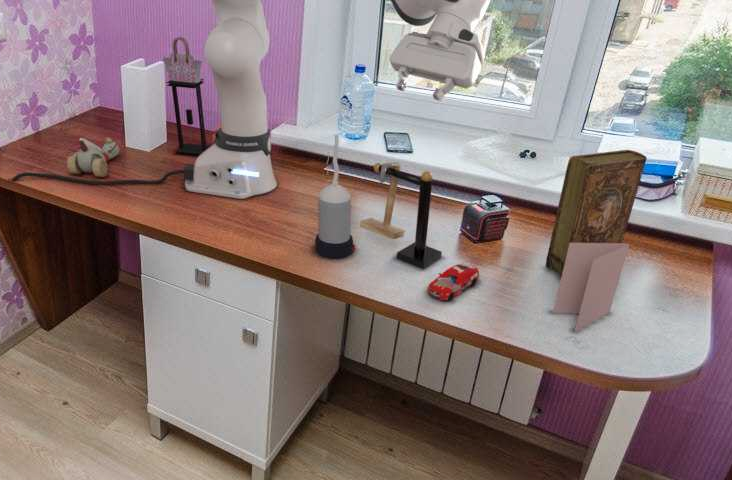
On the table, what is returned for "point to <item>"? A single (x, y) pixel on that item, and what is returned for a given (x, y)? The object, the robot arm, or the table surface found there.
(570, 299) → the greeting card
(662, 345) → the table surface
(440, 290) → the race car
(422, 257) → the stand
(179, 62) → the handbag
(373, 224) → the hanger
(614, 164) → the book
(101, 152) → the toy dog
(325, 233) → the humidifier
